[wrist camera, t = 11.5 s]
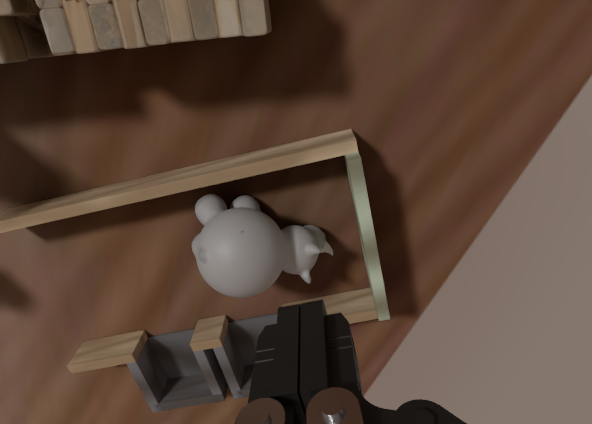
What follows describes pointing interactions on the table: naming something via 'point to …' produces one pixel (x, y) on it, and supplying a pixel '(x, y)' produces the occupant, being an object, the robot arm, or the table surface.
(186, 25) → the block tower
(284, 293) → the table surface
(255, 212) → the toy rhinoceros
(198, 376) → the trap channel
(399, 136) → the table surface
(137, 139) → the table surface
